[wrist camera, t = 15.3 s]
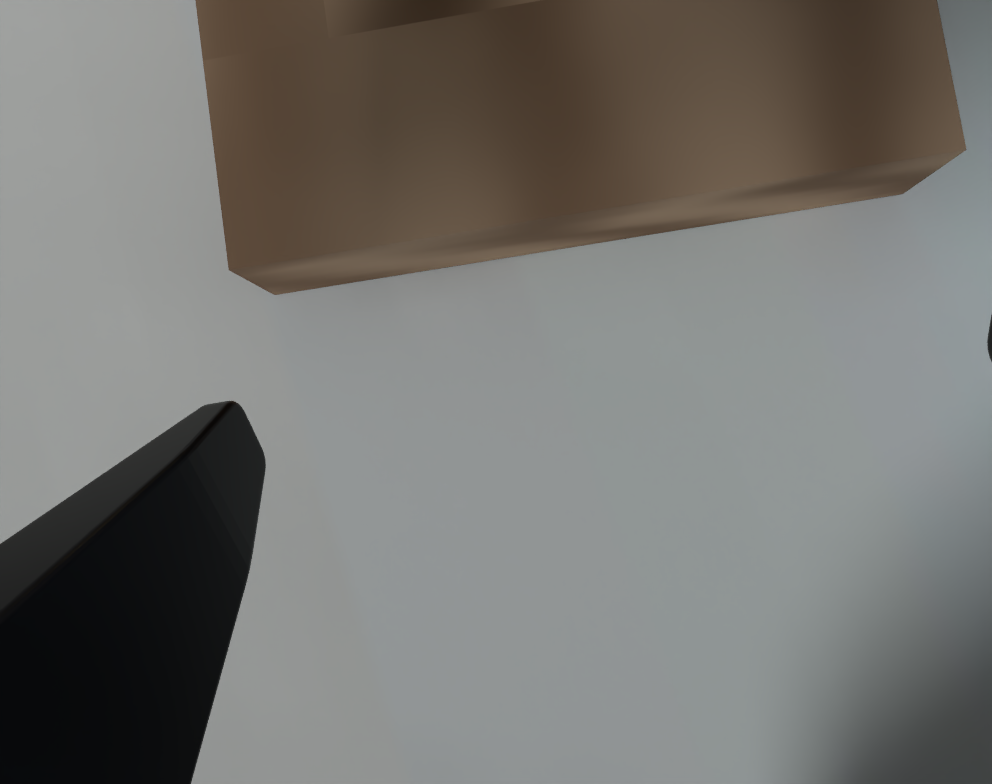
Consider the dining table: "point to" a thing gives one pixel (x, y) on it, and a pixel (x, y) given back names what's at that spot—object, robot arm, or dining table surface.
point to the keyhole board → (553, 122)
